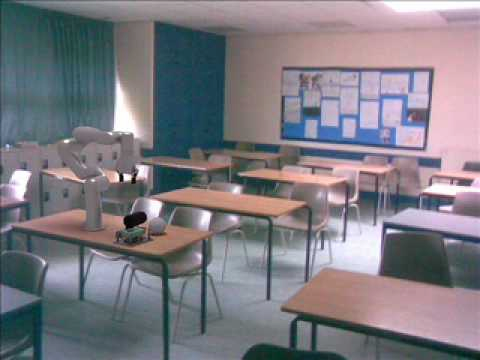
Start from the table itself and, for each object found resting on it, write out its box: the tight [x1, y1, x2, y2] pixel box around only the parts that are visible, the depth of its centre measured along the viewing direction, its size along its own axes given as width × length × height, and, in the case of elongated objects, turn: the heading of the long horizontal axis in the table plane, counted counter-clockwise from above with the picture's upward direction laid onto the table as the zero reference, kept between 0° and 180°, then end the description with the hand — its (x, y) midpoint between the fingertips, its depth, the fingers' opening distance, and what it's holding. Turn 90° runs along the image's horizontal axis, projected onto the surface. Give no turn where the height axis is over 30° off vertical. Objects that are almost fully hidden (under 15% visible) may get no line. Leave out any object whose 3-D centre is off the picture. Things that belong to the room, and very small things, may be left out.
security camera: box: [122, 210, 148, 230], centre depth 326 cm, size 7×18×10 cm, turn 156°
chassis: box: [113, 225, 154, 248], centre depth 301 cm, size 18×13×7 cm
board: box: [121, 227, 147, 238], centre depth 300 cm, size 12×7×4 cm, turn 147°
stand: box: [115, 228, 128, 239], centre depth 313 cm, size 10×4×3 cm, turn 147°
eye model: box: [148, 216, 167, 235], centre depth 318 cm, size 10×10×10 cm
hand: (127, 182), depth 313 cm, fingers open, 9 cm apart
